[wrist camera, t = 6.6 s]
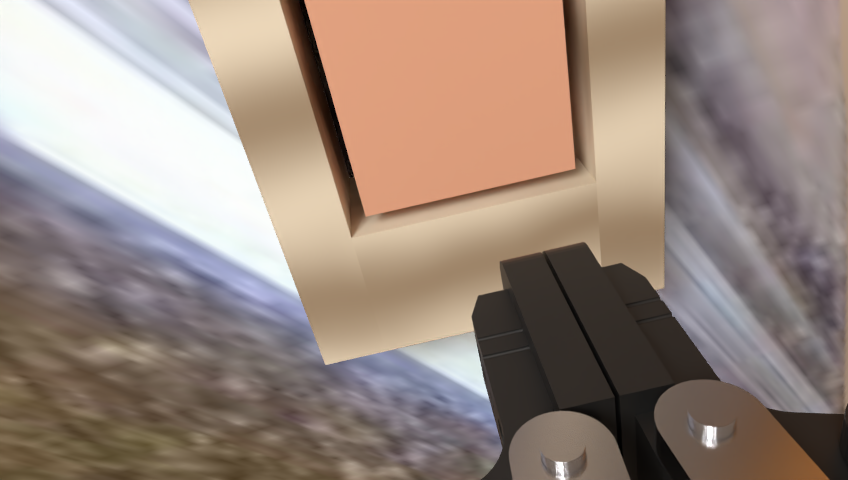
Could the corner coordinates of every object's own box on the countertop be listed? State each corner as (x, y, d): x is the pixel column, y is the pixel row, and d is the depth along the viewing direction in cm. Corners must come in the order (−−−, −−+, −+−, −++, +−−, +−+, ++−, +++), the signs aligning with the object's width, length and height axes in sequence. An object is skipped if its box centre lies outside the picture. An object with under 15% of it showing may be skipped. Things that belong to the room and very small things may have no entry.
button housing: (618, 226, 30) (664, 288, 26) (327, 292, 30) (325, 364, 26) (596, -324, 20) (667, -371, 15) (150, -220, 20) (99, -238, 16)
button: (544, 127, 26) (575, 168, 23) (362, 168, 26) (365, 216, 23) (524, -76, 22) (557, -63, 19) (309, -27, 22) (303, -4, 19)
